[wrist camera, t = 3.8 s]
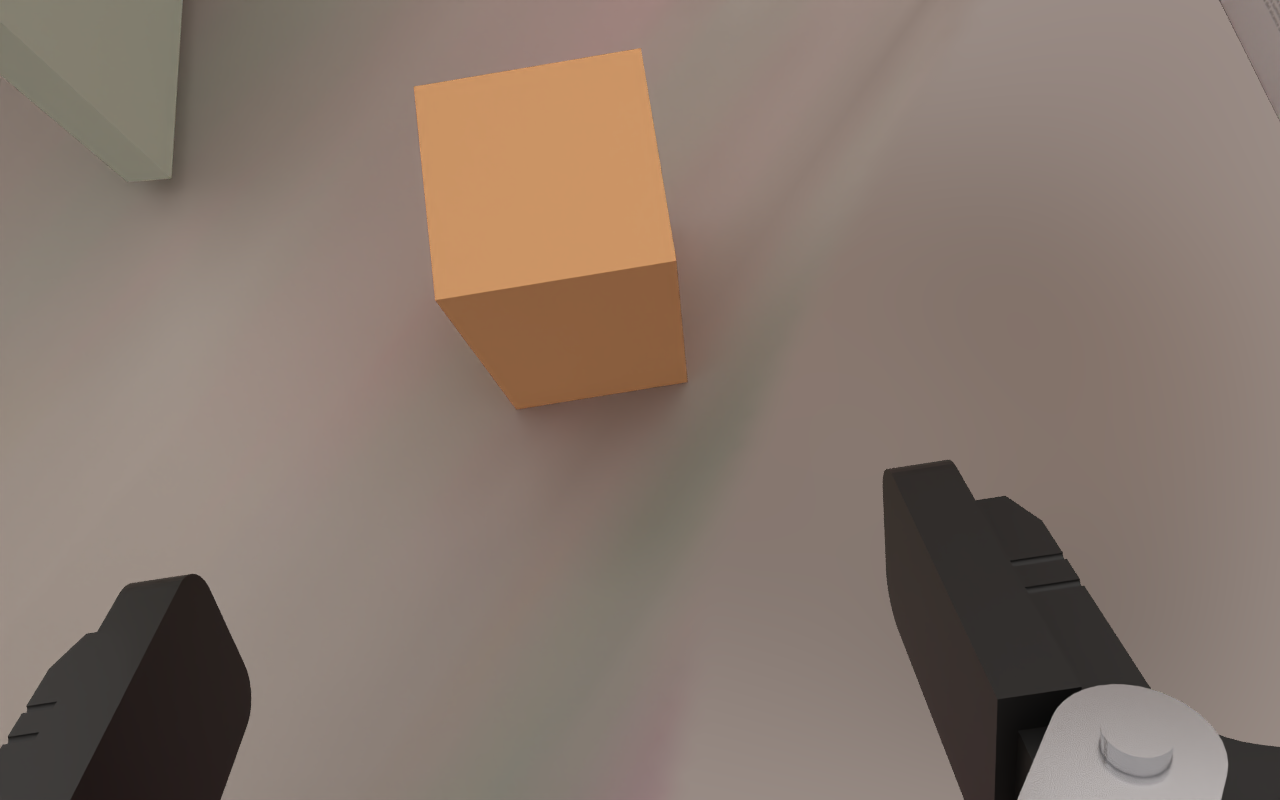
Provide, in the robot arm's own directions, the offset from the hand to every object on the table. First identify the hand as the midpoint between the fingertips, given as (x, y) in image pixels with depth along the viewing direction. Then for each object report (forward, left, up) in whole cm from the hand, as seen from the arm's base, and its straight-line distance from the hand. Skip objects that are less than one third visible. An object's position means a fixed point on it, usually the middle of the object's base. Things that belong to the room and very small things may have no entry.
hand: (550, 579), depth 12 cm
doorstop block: (0, +8, -13) cm, 15 cm away
